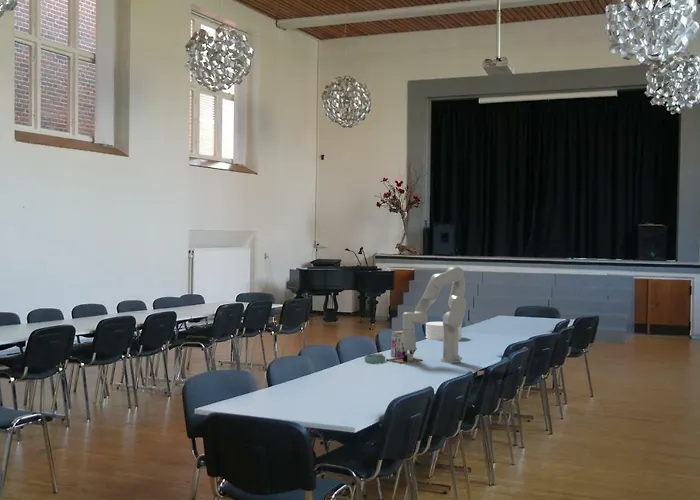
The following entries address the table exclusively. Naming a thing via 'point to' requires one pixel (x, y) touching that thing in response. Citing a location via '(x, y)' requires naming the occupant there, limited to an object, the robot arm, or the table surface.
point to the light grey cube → (377, 355)
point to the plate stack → (438, 331)
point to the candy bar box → (395, 344)
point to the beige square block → (409, 357)
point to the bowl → (374, 359)
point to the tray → (400, 360)
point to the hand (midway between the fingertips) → (408, 360)
